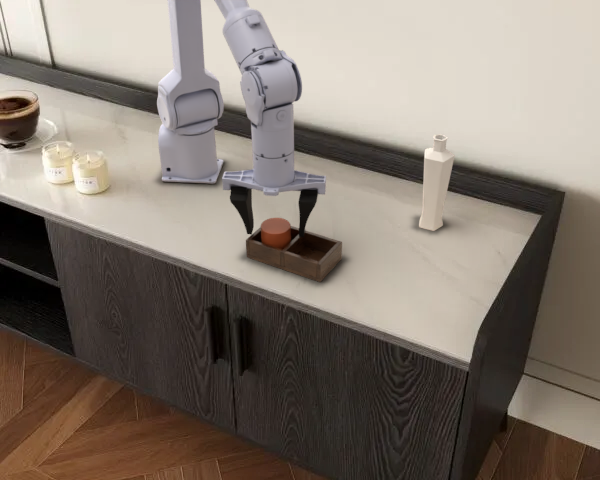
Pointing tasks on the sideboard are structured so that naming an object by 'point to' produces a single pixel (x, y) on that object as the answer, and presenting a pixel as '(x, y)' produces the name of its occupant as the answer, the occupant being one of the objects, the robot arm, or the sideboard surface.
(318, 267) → the divided tray
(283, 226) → the orange cylinder
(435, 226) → the white vase
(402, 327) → the sideboard surface
